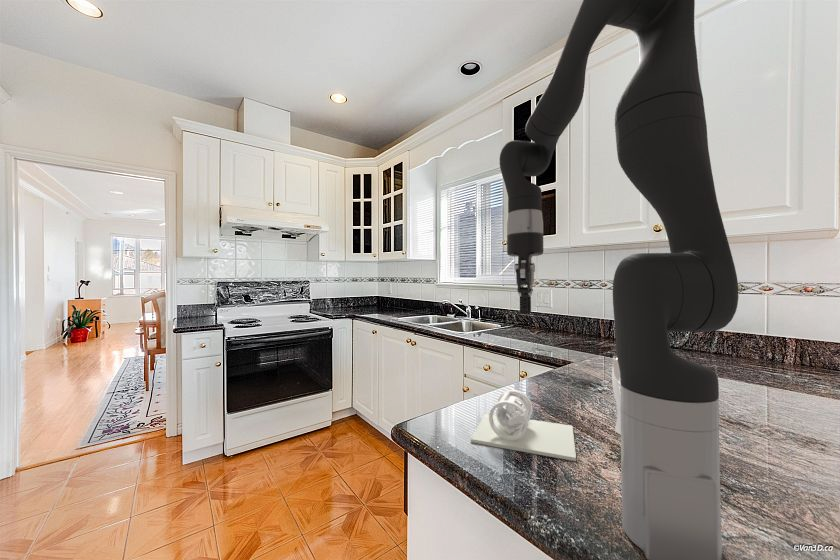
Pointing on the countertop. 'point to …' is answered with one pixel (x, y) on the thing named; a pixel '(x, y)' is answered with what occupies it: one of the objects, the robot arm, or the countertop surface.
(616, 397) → the beer glass
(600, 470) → the countertop surface
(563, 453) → the mat
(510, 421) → the white stacked pillar
